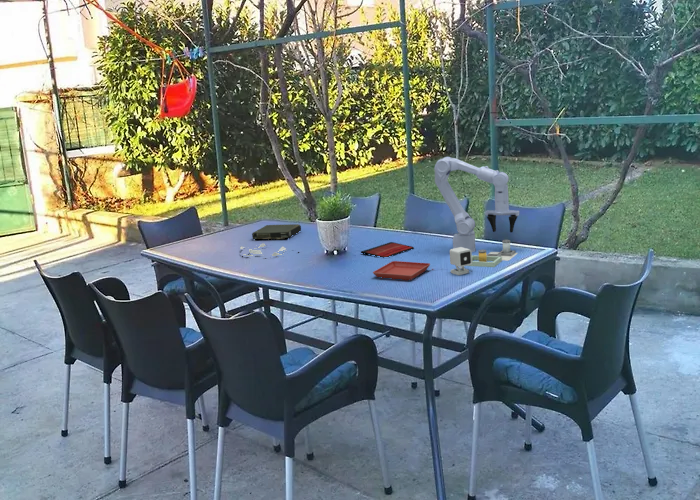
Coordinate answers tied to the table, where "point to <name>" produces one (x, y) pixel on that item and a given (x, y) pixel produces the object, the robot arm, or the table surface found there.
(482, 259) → the amber fuse
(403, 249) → the binder
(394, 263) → the plant saucer
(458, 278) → the table surface
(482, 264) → the parts tray
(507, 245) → the grey fuse
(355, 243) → the table surface
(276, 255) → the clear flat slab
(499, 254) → the fuse block
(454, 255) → the security camera
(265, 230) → the network switch
